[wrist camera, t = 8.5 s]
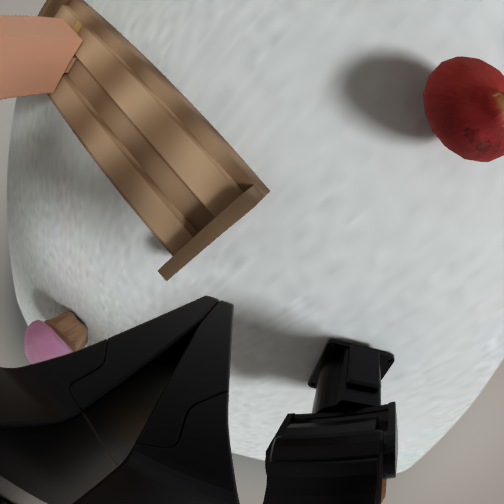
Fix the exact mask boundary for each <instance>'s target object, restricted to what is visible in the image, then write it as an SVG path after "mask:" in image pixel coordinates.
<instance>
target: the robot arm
mask: <svg viewBox="0 0 504 504" xmlns="http://www.w3.org/2000/svg"><path fill="white" fill-rule="evenodd" d="M233 309H234V306H233V304H231V303H228V302H225V301H219V300H218V299H216V298H213V297H210V296H204V297H202V298H199V299H197V300H195V301H193V302H190V303H188V304H186V305H184V306H181V307H179V308H177V309H175V310H172V311H170V312H168V313H166V314H163V315H161V316H159V317H157V318H154V319H152V320H150V321H147V322H145V323H143V324H140V325H138V326H136V327H134V328H131V329H129V330H127V331H124V332H122V333H120V334H117V335H115V336H113V337H110V338H108V340H106V339H105V340H103V341H101V342H98V343H96V344H93V345H91V346H88V347H86V348H83V349H80V350H78V351H75V352H72V353H69V354H65V355H62V356H59V357H56V358H52V359H49V360H45V361H42V362H38V363H35V364H31V365H28V366H23V367H18V368H3V367H0V504H240V503H239V498H238V493H237V487H236V482H235V475H234V468H233V462H232V455H231V447H230V439H229V428H228V400H229V394H228V393H229V378H230V360H231V342H232V325H233ZM331 345H334V346H331ZM388 359H389V360H388ZM393 362H394V355H393V354H390V353H386V352H381V351H377V350H373V349H369V348H365V347H361V346H357V345H353V344H349V343H345V342H341V341H337V340H333V339H332V340H329V341H328V342H327V343H326V345H325V348H324V350H323V352H322V354H321V356H320V358H319V360H318V362H317V364H316V367H315V369H314V371H313V373H312V375H311V377H310V379H309V381H308V386H310V387H312V388H316V394H315V399H314V405H313V410H312V413H310V414H295V413H292V414H287V416H286V418H285V419H284V421H283V423H282V425H281V426H280V428H279V430H278V432H277V433H276V435H275V437H274V438H273V440H272V442H271V443H270V445H269V447H268V449H267V450H266V459H265V468H266V474H267V486H266V492H265V497H264V502H263V504H381V503H382V501H383V499H384V498H385V494H386V480H387V479H389V478H395V477H396V468H397V455H398V430H397V415H396V404H395V402H390V403H389V404H385V405H381V380H382V378H383V377H384V375H385V374H386V373H387V371H388V370H389V368H390V367H391V365H392V364H393Z"/></svg>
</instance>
